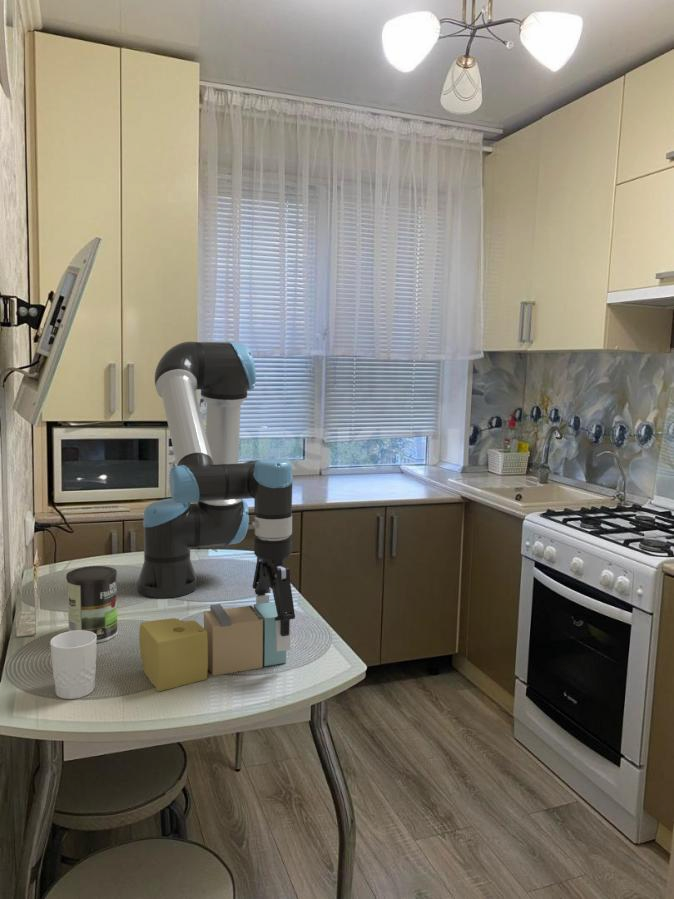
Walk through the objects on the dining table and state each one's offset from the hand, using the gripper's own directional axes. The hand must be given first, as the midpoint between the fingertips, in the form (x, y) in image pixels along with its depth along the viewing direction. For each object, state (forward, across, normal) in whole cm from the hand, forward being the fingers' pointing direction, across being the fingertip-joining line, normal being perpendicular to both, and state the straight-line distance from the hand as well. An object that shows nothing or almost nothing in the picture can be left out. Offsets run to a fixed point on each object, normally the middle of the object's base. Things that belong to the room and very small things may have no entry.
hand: (272, 636), depth 140 cm
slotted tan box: (+4, 0, -8) cm, 9 cm away
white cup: (+5, 0, -38) cm, 38 cm away
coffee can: (+4, -24, -33) cm, 41 cm away
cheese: (+5, +1, -20) cm, 21 cm away
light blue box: (+4, 0, 0) cm, 4 cm away
